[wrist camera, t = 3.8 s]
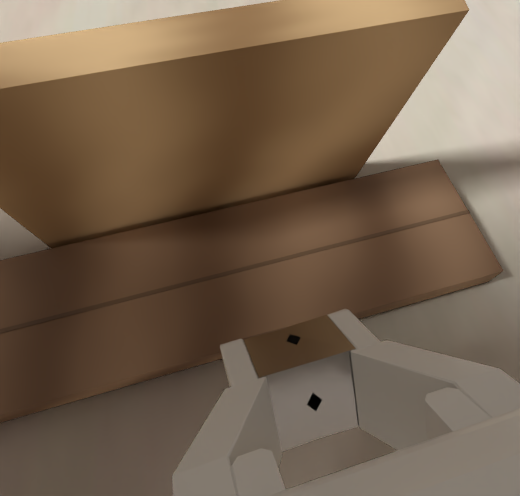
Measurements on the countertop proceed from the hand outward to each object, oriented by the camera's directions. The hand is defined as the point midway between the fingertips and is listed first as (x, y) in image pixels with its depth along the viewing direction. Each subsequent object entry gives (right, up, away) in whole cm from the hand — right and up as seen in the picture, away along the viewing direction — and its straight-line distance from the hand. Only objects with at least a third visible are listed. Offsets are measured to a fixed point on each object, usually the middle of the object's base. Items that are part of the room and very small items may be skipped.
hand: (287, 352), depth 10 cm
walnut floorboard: (-3, 0, +9) cm, 9 cm away
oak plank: (-3, +7, +5) cm, 9 cm away
